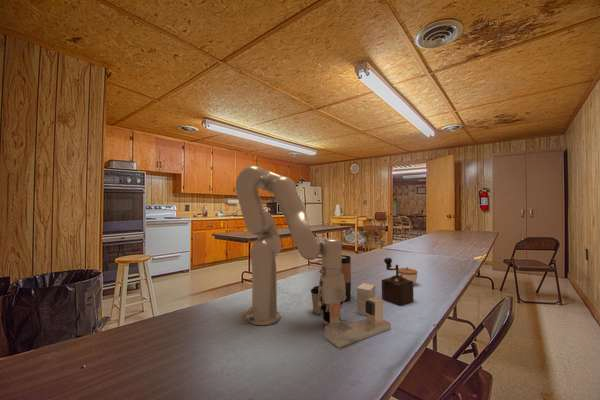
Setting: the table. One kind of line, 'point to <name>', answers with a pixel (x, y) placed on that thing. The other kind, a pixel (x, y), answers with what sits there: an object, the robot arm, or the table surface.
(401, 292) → the manual coffee grinder
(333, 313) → the beige orange block
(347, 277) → the travel mug
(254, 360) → the table surface
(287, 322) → the table surface
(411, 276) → the lidded jar
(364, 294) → the small box
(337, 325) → the rail
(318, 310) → the coffee cup
